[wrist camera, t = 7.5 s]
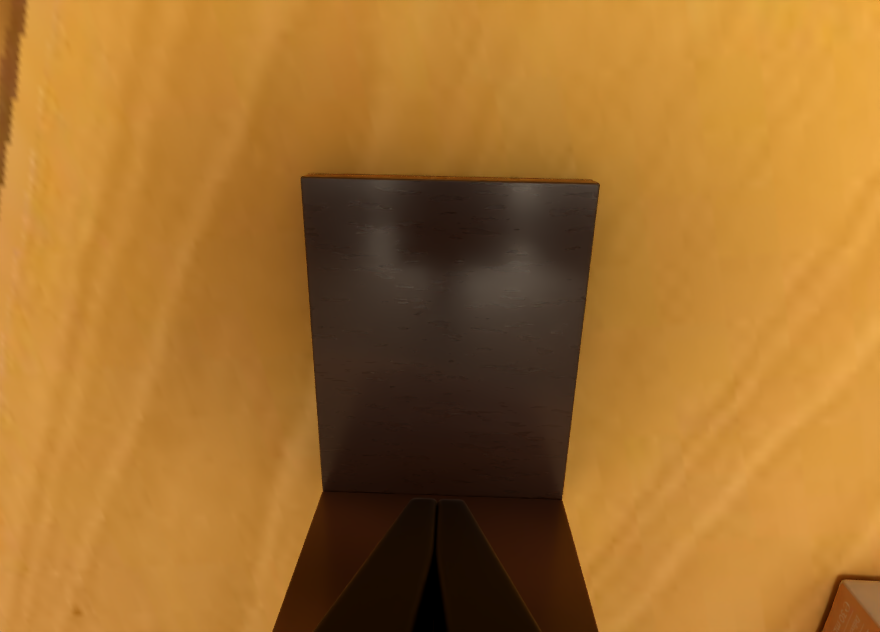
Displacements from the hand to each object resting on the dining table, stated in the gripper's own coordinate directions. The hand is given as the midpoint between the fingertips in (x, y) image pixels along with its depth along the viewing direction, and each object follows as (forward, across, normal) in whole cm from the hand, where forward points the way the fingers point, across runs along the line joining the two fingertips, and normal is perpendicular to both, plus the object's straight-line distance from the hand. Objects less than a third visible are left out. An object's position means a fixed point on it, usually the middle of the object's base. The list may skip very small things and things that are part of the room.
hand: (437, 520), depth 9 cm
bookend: (+4, 0, +8) cm, 9 cm away
